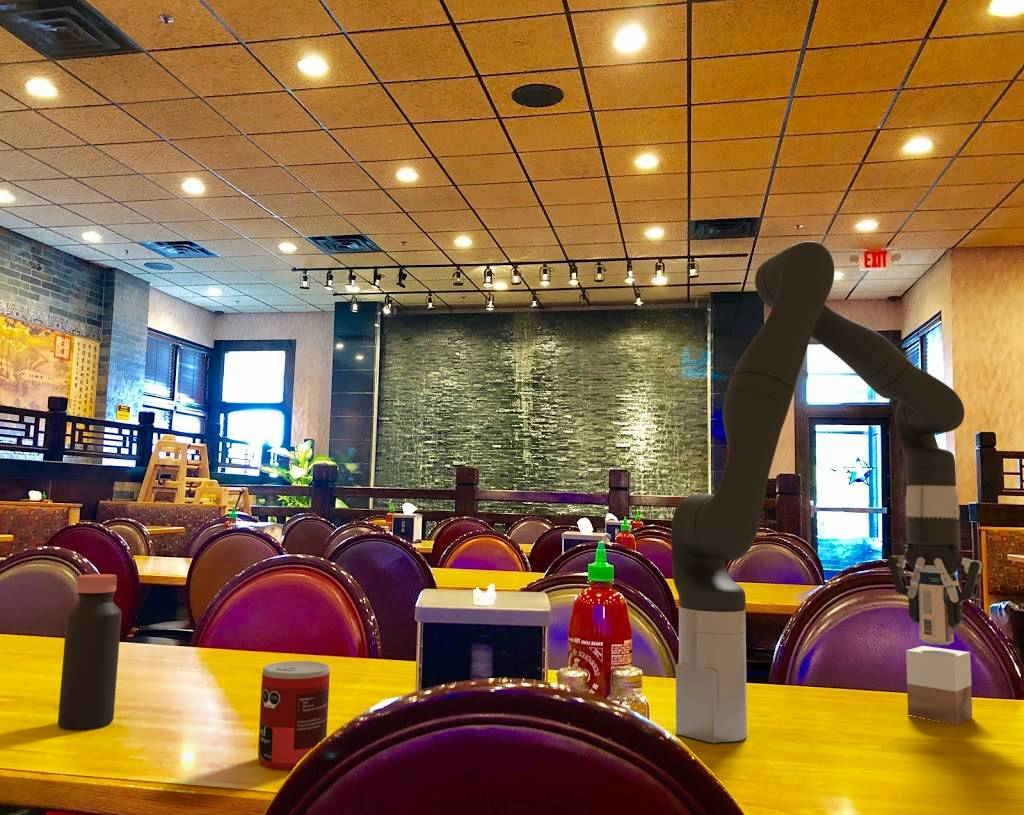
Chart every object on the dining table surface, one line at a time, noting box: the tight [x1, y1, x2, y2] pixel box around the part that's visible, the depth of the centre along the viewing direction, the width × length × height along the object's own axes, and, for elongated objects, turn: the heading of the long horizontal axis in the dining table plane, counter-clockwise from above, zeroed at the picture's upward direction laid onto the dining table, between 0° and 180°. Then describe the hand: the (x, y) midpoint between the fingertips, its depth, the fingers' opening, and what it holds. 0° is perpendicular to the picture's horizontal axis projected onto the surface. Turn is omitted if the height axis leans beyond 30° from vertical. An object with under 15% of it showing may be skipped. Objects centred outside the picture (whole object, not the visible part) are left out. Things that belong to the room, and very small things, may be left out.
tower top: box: [905, 645, 972, 692], centre depth 128 cm, size 7×7×5 cm
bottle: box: [57, 573, 122, 731], centre depth 113 cm, size 7×7×20 cm
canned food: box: [257, 660, 330, 771], centre depth 99 cm, size 8×8×11 cm
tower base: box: [906, 683, 973, 726], centre depth 127 cm, size 7×7×5 cm
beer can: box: [918, 565, 955, 646], centre depth 129 cm, size 5×5×12 cm
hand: (935, 624), depth 128 cm, fingers closed on beer can, 4 cm apart
